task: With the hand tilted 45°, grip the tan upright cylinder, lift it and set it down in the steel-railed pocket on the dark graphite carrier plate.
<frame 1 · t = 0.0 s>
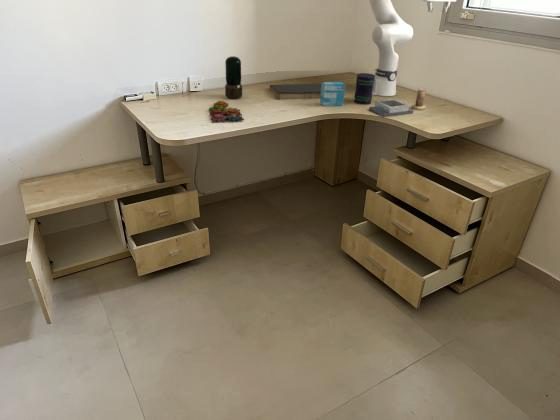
hand: (437, 11, 212), 48 cm above the table, tool pointing down, fingers open, 8 cm apart
storage jar: (362, 102, 241), on the table
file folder: (301, 94, 253), on the table
carrier plate: (390, 111, 227), on the table
dark green cactus pot: (233, 97, 240), on the table
gear puzzle: (225, 114, 216), on the table
tan upright cylinder: (418, 108, 234), on the table
data package: (331, 105, 234), on the table
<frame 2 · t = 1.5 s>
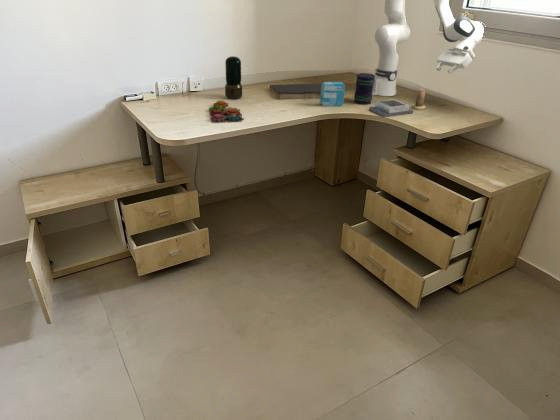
hand: (443, 71, 228), 19 cm above the table, tool tilted 45°, fingers open, 8 cm apart
nothing on the table moved.
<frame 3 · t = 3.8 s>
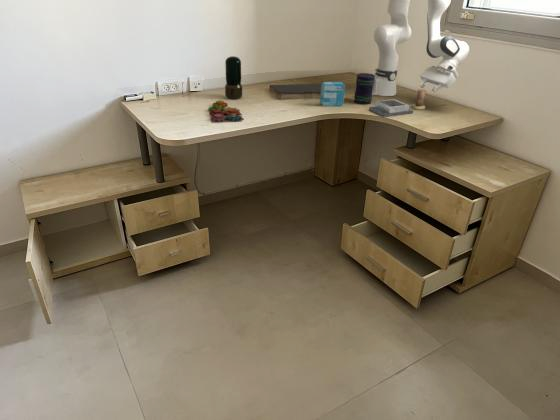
hand: (427, 89, 231), 10 cm above the table, tool tilted 45°, fingers open, 8 cm apart
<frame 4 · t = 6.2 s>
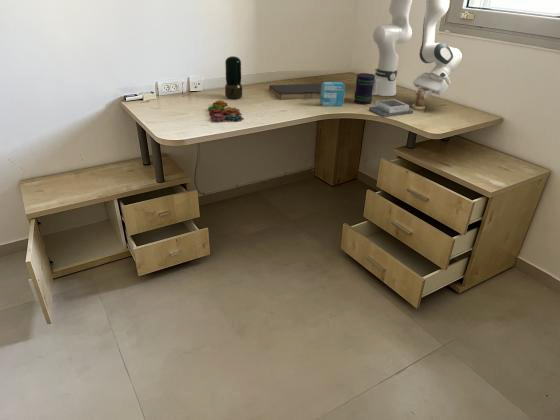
hand: (419, 95, 231), 7 cm above the table, tool tilted 45°, fingers closed on tan upright cylinder, 4 cm apart
tan upright cylinder: (418, 108, 234), on the table, touching gripper
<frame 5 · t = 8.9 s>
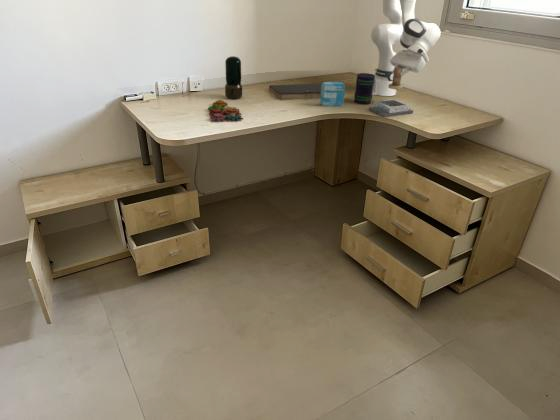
hand: (396, 74, 217), 19 cm above the table, tool tilted 45°, fingers closed on tan upright cylinder, 4 cm apart
tan upright cylinder: (395, 87, 221), point 13 cm above the table, touching gripper
when the fingers open (10 cm above the table, at t = 11.9 s): tan upright cylinder drops 1 cm, resting on carrier plate.
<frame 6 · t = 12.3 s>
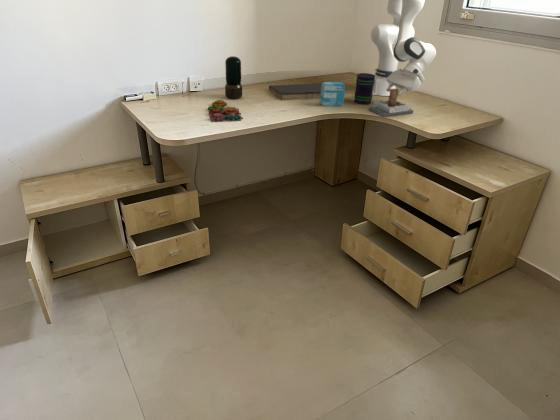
hand: (392, 93, 222), 10 cm above the table, tool tilted 45°, fingers open, 8 cm apart
tan upright cylinder: (391, 108, 226), point 1 cm above the table, touching carrier plate
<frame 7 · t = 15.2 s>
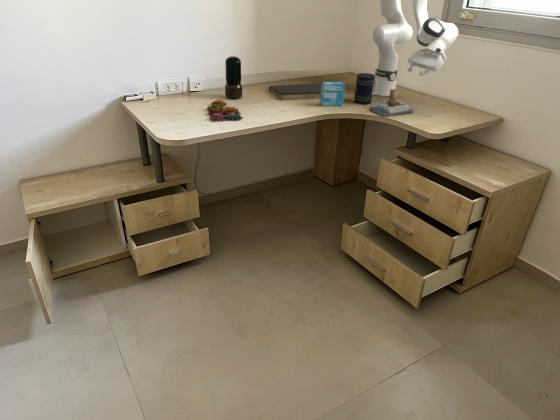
hand: (414, 72, 222), 19 cm above the table, tool tilted 45°, fingers open, 8 cm apart
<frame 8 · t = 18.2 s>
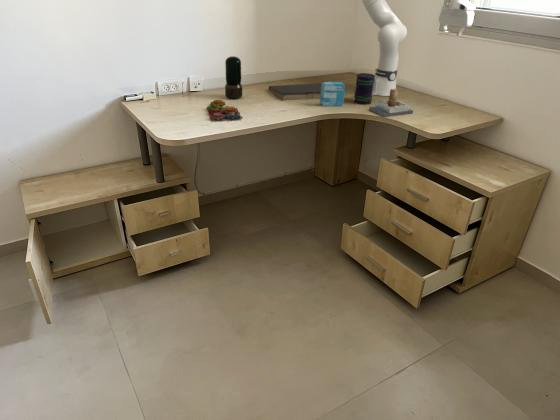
hand: (451, 34, 223), 37 cm above the table, tool pointing down, fingers open, 8 cm apart
at the end: tan upright cylinder 0.1 cm off-centre on the carrier plate, point 1.5 cm above the carrier plate's base; tan upright cylinder tilted 0°; the gripper is holding nothing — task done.
